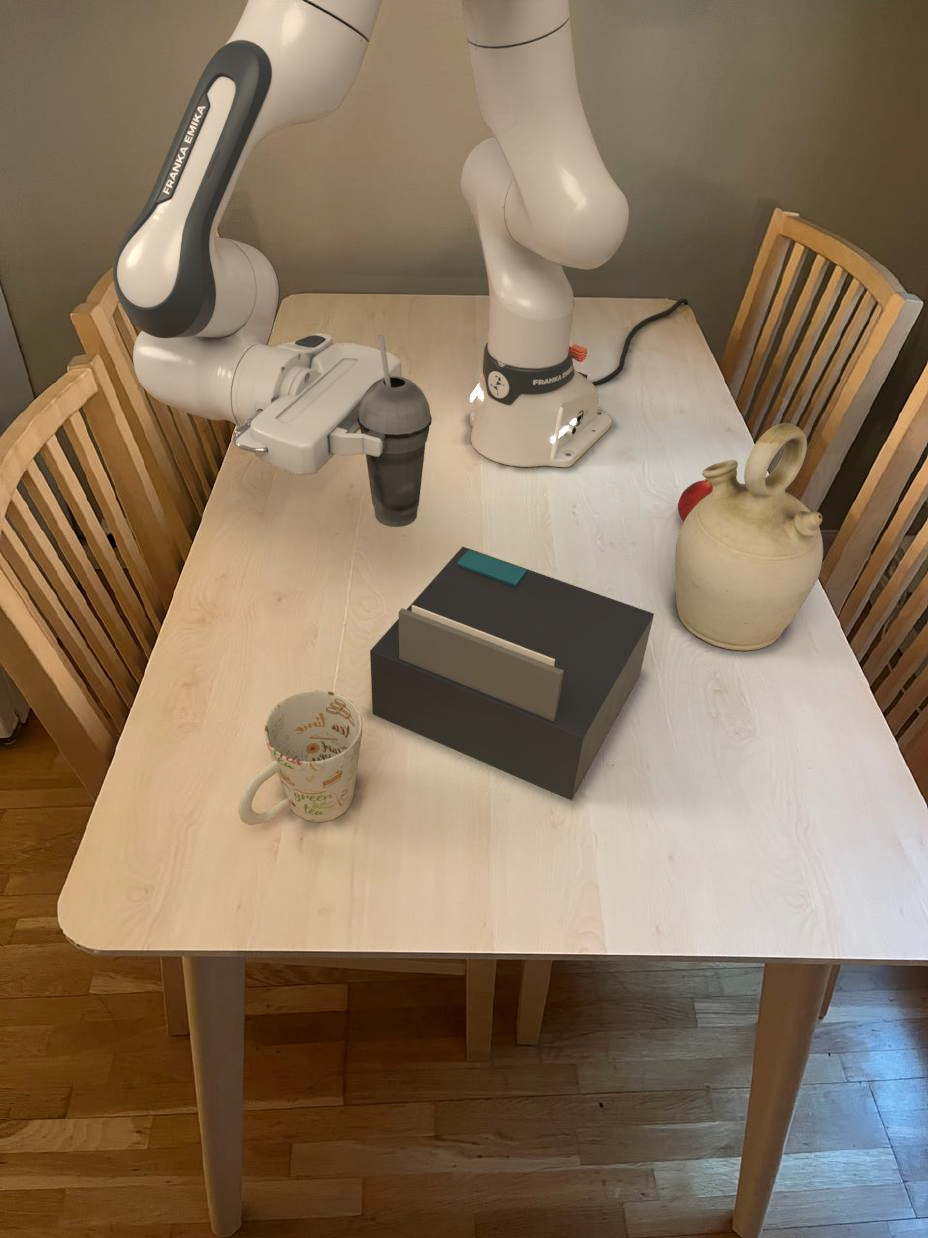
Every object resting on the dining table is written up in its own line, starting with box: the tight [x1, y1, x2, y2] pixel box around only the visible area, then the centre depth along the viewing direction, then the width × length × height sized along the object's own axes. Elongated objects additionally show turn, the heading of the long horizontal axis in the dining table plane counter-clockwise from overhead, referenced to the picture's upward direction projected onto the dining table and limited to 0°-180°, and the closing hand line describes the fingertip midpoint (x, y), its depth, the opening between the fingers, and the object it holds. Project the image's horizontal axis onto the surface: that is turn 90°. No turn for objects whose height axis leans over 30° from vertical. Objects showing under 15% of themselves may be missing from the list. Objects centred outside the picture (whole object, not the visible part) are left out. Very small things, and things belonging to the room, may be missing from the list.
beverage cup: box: [357, 333, 433, 528], centre depth 92 cm, size 7×7×20 cm
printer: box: [369, 546, 655, 801], centre depth 92 cm, size 19×22×16 cm
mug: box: [238, 689, 363, 826], centre depth 82 cm, size 8×13×10 cm, turn 138°
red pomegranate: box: [677, 478, 713, 523], centre depth 118 cm, size 6×6×8 cm
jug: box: [674, 422, 824, 652], centre depth 99 cm, size 15×16×25 cm
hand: (403, 424), depth 91 cm, fingers closed on beverage cup, 7 cm apart
